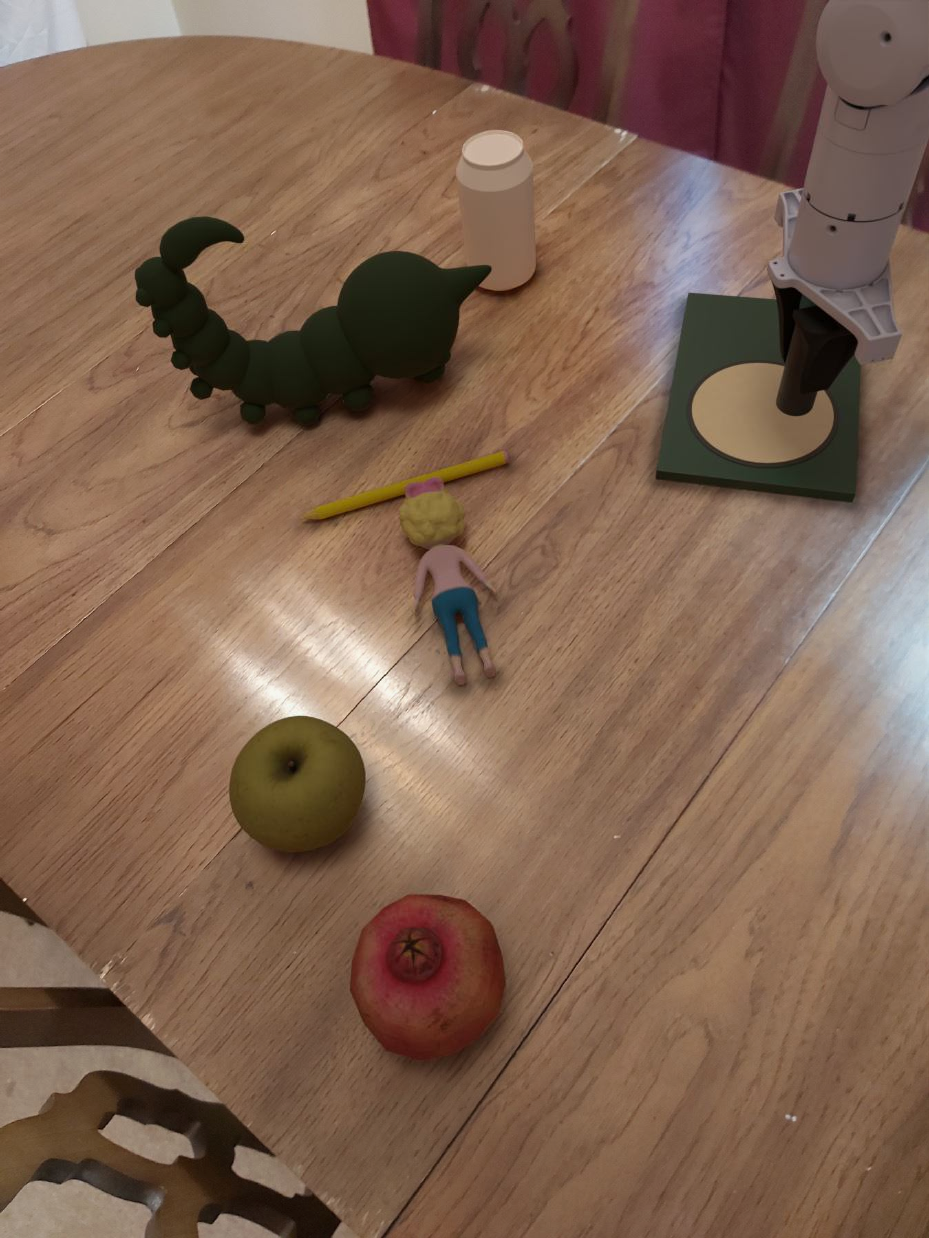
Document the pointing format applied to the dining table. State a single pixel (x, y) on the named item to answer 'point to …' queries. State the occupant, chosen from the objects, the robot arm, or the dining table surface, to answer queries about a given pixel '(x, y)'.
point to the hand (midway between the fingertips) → (804, 372)
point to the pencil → (399, 487)
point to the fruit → (427, 976)
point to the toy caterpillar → (308, 328)
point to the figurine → (445, 566)
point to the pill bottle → (794, 378)
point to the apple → (297, 784)
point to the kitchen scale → (753, 409)
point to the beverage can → (498, 208)
